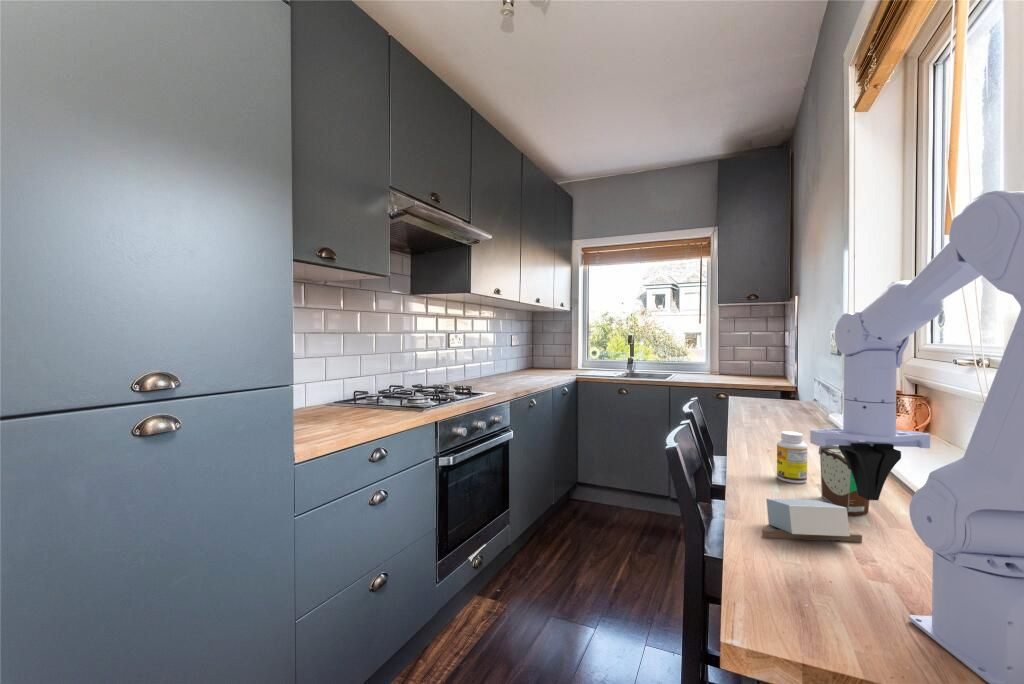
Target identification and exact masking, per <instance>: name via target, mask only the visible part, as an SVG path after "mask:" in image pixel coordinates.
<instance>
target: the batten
mask: <svg viewBox="0 0 1024 684" xmlns="http://www.w3.org/2000/svg"><path fill="white" fill-rule="evenodd" d="M761 531H762V537H763V538H764V539H782V540H783V539H784V540H785V539H786V540H805V541H806V540H808V541H809V540H811V541H828V540H840V541H839V542H852V543H854V542H855V543H862V542H863V535H862V534H861V533H859V532H850V536H830V535H806V534H792V533H789V532H787V531H784V530H782V529H770V528H768V529H767V528H763V529H762V530H761Z"/></svg>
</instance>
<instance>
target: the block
mask: <svg viewBox="0 0 1024 684" xmlns="http://www.w3.org/2000/svg"><path fill="white" fill-rule="evenodd" d="M766 507H767V509H766V510H767V521H768V525H770V526H772V527H774V528H776V529H779V530H784V531H787V532H789V533H792V534H806V535H830V536H850V533H851V532H850V526H849V525H850V524H849V516H848V515H847V508H846V507H842V506H838V505H834V504H831V503H830V502H826V501H825V502H824V501H821V500H818V499H816V500H813V499H789V498H787V499H786V498H766Z"/></svg>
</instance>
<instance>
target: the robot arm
mask: <svg viewBox="0 0 1024 684" xmlns="http://www.w3.org/2000/svg"><path fill="white" fill-rule="evenodd" d="M948 235H949V236H948V242H947V243H946V244H945V245H944V246H943V248H941V250H940V251H939V252H937V254H936V255H934V257H933V258H932V259H931V260H930V261H929V262H928V263H927V264H926V265H925V266H924V267H923V269H921V271H919V272H918V273H917V275H916V276H914V278H913V279H912V280H911V279H910V280H899V281H893V282H891V283H890V284H889V285H888V286H887V288H886V289H885V290H884V291H883V292H882V293H881V294H880V295H878V297H876V298H875V299H874V300H873V301H872V302H871V303H870V304H868V305H867V306H866V307H865V308H864V309H863V310H862V311H861V312H857V311H855V312H854V313H853V312H847V313H843V314H842V315H841V317H840V318H839V319H838V321H837V323H836V325H835V328H834V343H835V346H836V348H837V350H838V351H839V353H841V354H842V355H843V409H842V411H843V413H842V415H843V416H842V417H843V420H842V423H843V425H842V427H840V428H839V427H837V428H825V429H821V428H820V429H810V431H809V436H810V438H809V443H810V444H813V445H815V446H818V447H820V446H826V445H834V446H839V450H840V451H841V453H842V454H843V456H844V457H845V459H846V461H847V463H848V465H849V467H850V469H851V472H852V474H853V477H854V480H855V484H856V487H857V491H858V495H859V496H861V497H863V498H865V499H867V500H870V501H879V499H880V496H881V494H882V490H883V488H884V485H885V483H886V480H887V479H888V477H889V475H890V473H891V472H892V469H893V468H894V467H895V466H896V465H897V463H898V462H899V461H900V460H901V458H902V451H900V450H899V449H896V448H895V447H898V448H901V447H905V448H908V447H909V448H920V449H931V434H929V433H927V432H922V431H917V430H916V431H913V430H912V431H911V430H897V369H899V368H901V365H902V364H903V355H904V352H905V350H906V349H907V346H908V343H909V340H910V339H909V338H910V336H912V334H914V333H915V332H916V331H918V330H919V329H921V328H923V327H924V326H925V325H926V324H928V323H929V322H931V321H932V320H933V319H935V318H937V317H938V316H939V314H940V313H941V311H942V309H943V304H942V303H943V302H942V300H944V299H945V298H947V297H949V296H951V295H953V293H955V292H958V291H959V290H960V289H962V288H964V287H965V286H968V285H969V284H970V283H972V282H973V281H975V280H977V279H978V278H979V277H981V276H982V277H983V278H984V279H986V281H988V282H989V283H991V285H993V286H994V287H995V288H996V289H997V290H998V291H1000V292H1003V293H1006V294H1009V295H1011V296H1013V298H1014V299H1015V300H1016V301H1017V303H1018V304H1019V306H1020V311H1019V313H1018V316H1017V318H1016V321H1015V324H1014V326H1013V329H1012V332H1011V334H1010V336H1009V339H1008V342H1007V344H1006V347H1005V349H1004V352H1003V355H1002V358H1001V360H1000V363H999V365H998V367H997V370H996V373H995V376H994V377H993V380H992V383H991V385H990V388H989V390H988V393H987V396H986V398H985V401H984V404H983V406H982V408H981V411H980V413H979V417H978V419H977V421H976V425H975V426H974V429H973V432H972V433H971V434H972V435H971V437H970V439H969V441H968V444H967V447H966V449H965V452H964V455H963V456H962V457H961V458H959V459H957V460H955V461H953V462H950V463H948V464H945V465H943V466H941V467H939V468H937V469H935V470H933V471H930V472H929V474H928V478H927V479H926V482H925V484H923V486H921V487H920V488H918V489H917V490H916V491H915V492H914V494H912V495H913V496H912V498H911V499H910V503H909V508H908V509H909V518H910V522H911V526H912V527H913V530H914V531H915V533H916V535H917V536H918V538H920V539H921V541H922V542H923V543H924V546H926V548H929V549H930V550H931V551H932V581H931V582H932V583H931V584H932V586H931V588H932V592H931V593H932V594H931V595H932V596H931V615H920V614H910V615H908V620H909V621H910V622H911V623H913V624H914V625H915V626H916V627H918V628H919V629H920V630H921V631H922V632H924V633H925V634H926V635H927V636H929V637H930V638H931V639H932V640H934V641H935V642H936V643H937V644H939V645H940V646H941V647H942V648H944V649H945V650H946V651H948V653H949V654H951V655H952V656H954V657H955V658H956V659H957V660H959V661H961V662H962V664H964V665H965V666H966V667H968V668H969V670H972V672H974V673H975V674H977V675H978V676H979V677H980V678H981V679H983V680H984V681H985V682H987V683H988V684H1024V191H1023V190H1019V191H1007V190H990V191H989V190H988V191H986V192H983V193H981V194H980V195H978V196H975V198H973V199H972V200H971V201H970V202H968V204H967V205H966V206H965V207H964V209H963V210H962V211H961V213H959V214H958V215H956V216H955V217H954V218H953V219H952V221H951V224H950V228H949V234H948Z"/></svg>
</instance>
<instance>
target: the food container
mask: <svg viewBox="0 0 1024 684" xmlns="http://www.w3.org/2000/svg"><path fill="white" fill-rule="evenodd" d="M818 447H819V448H818V455H819V458H820V459H819V460H820V461H819V462H820V487H821V488H820V489H821V497H822V498H823V499H824V500H826V501H827V503H830V504H834V505H838V506H842V507H846V508H847V515H848V517H863V516H866V515H868V513H869V509H870V501H871V500H867V499H865V498H863V497H861V496H859V495H858V491H857V487H856V484H855V480H854V477H853V474H852V472H851V469H850V467H849V465H848V463H847V461H846V459H845V457H844V456H843V454H842V453H841V451H840V450H839V445H826V446H818Z"/></svg>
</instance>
